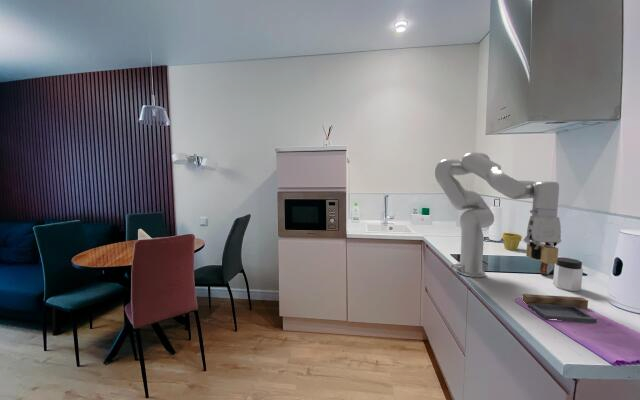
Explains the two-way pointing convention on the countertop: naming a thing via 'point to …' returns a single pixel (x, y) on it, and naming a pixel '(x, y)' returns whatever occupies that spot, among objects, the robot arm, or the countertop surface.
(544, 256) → the bar
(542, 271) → the tin
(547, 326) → the countertop surface
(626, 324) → the countertop surface
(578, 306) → the door edge strip
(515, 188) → the robot arm
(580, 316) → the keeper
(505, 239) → the plant pot
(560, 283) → the jar
